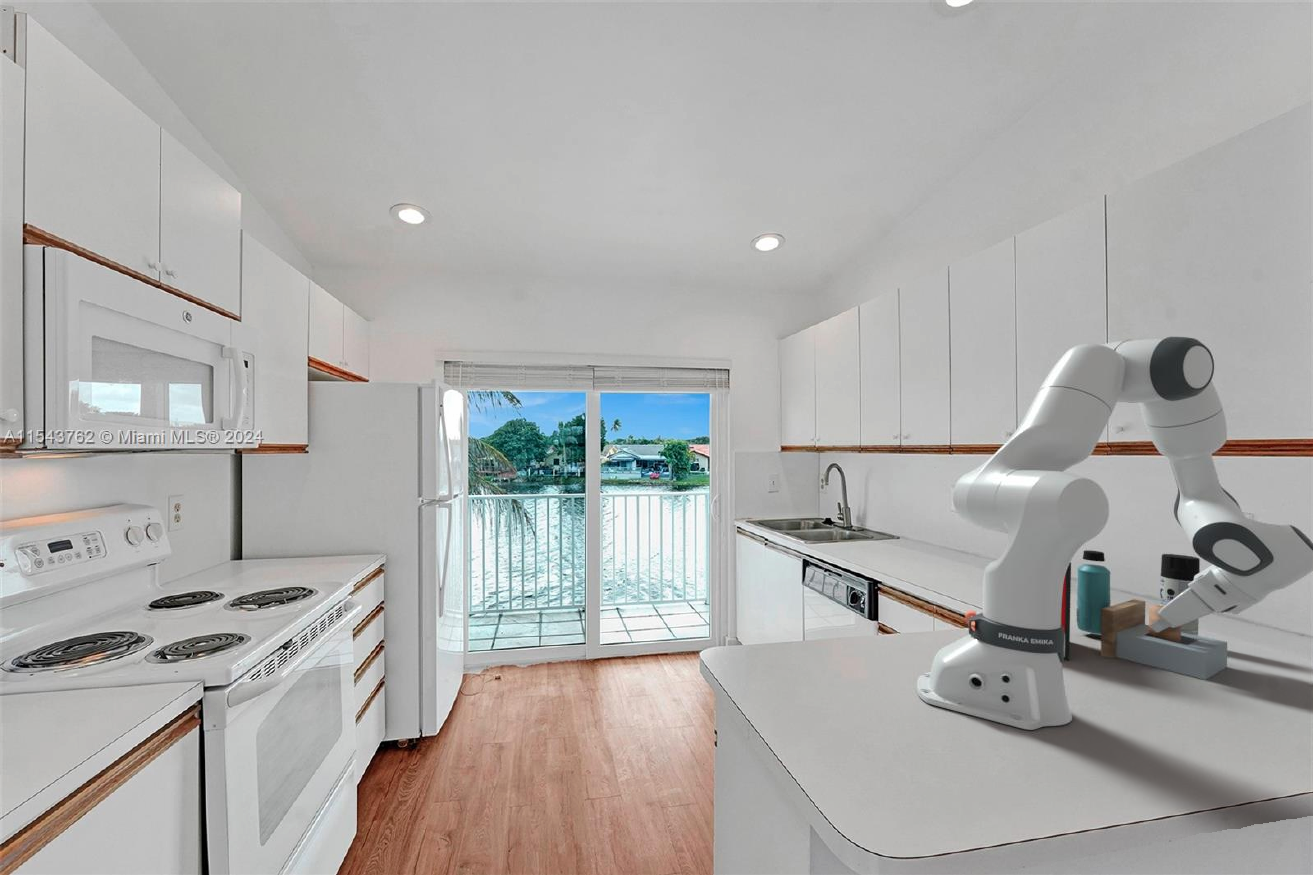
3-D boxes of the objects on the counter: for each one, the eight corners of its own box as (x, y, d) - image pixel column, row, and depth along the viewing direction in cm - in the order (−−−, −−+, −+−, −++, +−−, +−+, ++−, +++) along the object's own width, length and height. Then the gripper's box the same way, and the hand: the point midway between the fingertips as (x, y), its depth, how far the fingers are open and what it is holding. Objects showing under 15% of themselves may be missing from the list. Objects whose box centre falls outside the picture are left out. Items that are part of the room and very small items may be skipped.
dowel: (1153, 653, 121) (1153, 609, 122) (1146, 646, 126) (1145, 604, 126) (1185, 657, 119) (1184, 612, 120) (1176, 650, 124) (1175, 607, 124)
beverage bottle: (1116, 642, 135) (1118, 554, 135) (1084, 639, 136) (1085, 552, 136) (1101, 633, 141) (1102, 549, 142) (1070, 631, 142) (1071, 547, 143)
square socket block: (1226, 666, 120) (1227, 642, 120) (1205, 679, 112) (1205, 653, 112) (1141, 646, 131) (1141, 623, 132) (1116, 657, 124) (1116, 633, 124)
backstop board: (1144, 646, 133) (1145, 601, 133) (1112, 659, 123) (1113, 611, 123) (1133, 643, 134) (1134, 599, 134) (1100, 656, 124) (1101, 608, 124)
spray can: (1161, 637, 140) (1162, 552, 140) (1200, 645, 135) (1201, 556, 135) (1157, 642, 135) (1158, 555, 136) (1196, 650, 130) (1198, 559, 131)
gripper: (1224, 571, 123) (1163, 607, 131) (1191, 580, 112) (1128, 619, 120) (1253, 597, 119) (1190, 633, 127) (1223, 610, 108) (1155, 648, 116)
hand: (1159, 626), depth 123 cm, fingers closed on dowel, 5 cm apart
